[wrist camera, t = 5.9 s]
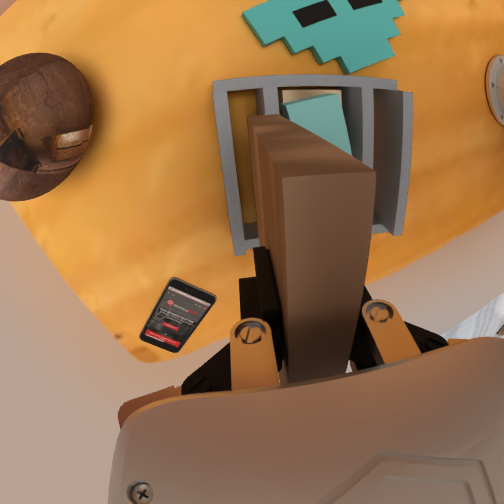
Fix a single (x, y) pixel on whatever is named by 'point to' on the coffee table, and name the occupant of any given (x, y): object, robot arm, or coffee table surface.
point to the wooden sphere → (41, 124)
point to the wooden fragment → (501, 331)
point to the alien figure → (329, 28)
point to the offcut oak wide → (301, 95)
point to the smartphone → (176, 315)
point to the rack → (359, 132)
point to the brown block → (312, 240)
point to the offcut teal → (320, 118)
